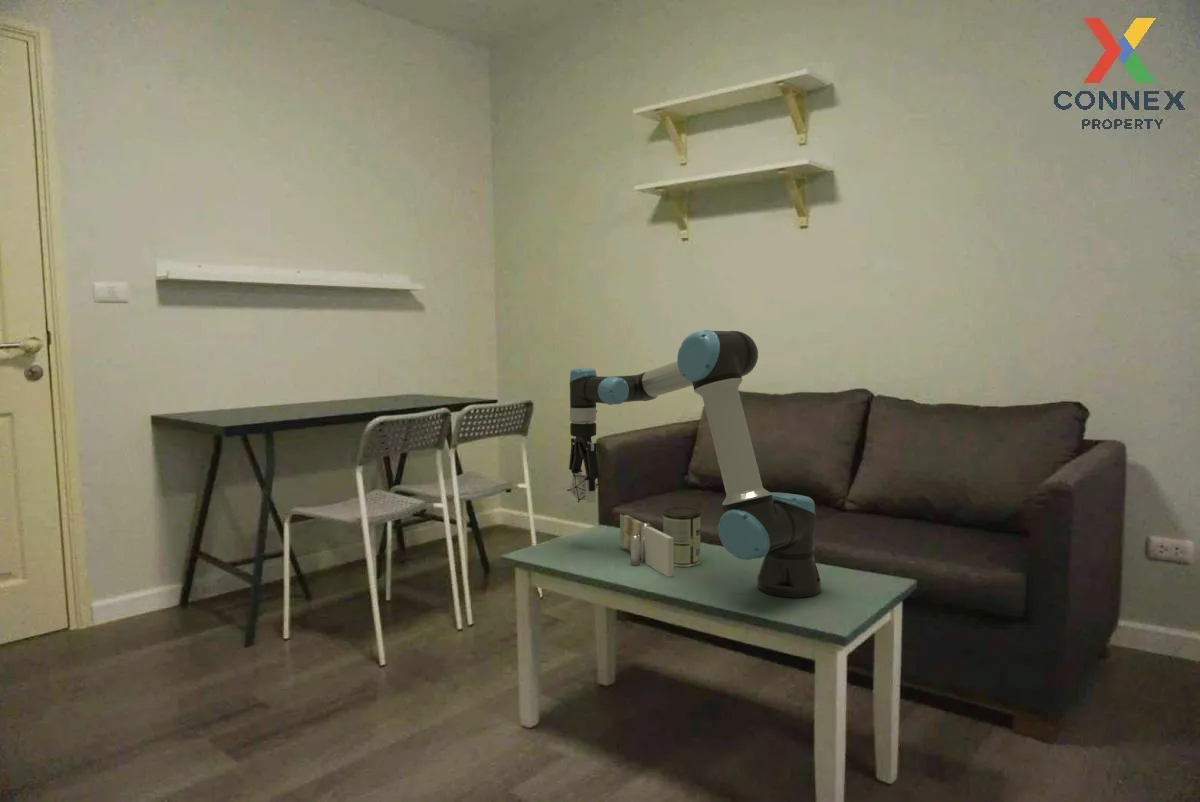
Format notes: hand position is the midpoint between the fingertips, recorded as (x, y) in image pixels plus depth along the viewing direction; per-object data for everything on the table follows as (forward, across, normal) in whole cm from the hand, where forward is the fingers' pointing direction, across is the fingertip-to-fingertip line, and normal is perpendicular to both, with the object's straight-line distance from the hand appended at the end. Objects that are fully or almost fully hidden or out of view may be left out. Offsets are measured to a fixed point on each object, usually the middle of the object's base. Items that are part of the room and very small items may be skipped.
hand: (583, 498), depth 224 cm
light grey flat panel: (+14, -28, -10) cm, 33 cm away
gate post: (+14, -20, -10) cm, 27 cm away
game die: (+1, 0, 0) cm, 1 cm away
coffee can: (+15, -24, -19) cm, 34 cm away
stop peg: (+14, -21, -6) cm, 27 cm away
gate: (+13, -12, -10) cm, 21 cm away
